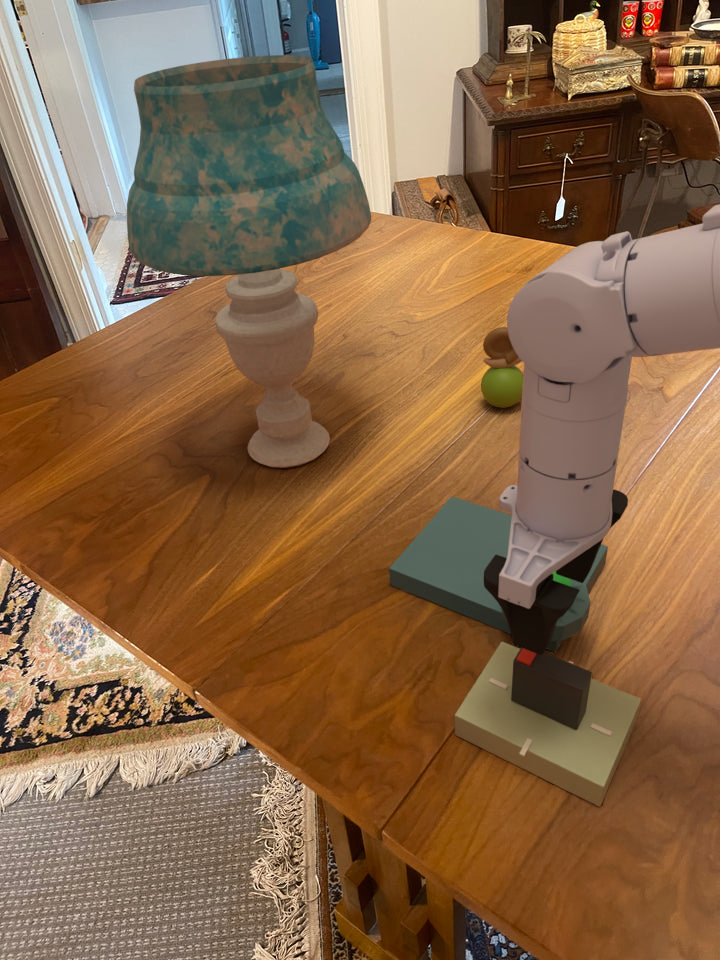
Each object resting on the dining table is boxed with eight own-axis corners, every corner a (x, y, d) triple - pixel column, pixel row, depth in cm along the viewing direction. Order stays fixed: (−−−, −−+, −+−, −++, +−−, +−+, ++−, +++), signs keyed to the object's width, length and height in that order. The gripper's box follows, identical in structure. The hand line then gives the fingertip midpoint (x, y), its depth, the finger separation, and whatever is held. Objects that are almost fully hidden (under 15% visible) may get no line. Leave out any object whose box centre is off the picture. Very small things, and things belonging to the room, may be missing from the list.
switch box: (621, 569, 67) (627, 536, 65) (566, 672, 58) (570, 638, 56) (451, 512, 76) (451, 481, 73) (381, 595, 67) (378, 563, 65)
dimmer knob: (586, 712, 52) (592, 669, 50) (576, 730, 51) (583, 688, 49) (520, 683, 55) (523, 640, 52) (510, 700, 54) (513, 658, 51)
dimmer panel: (639, 713, 55) (644, 691, 53) (596, 815, 49) (601, 793, 47) (503, 656, 60) (504, 634, 59) (450, 741, 54) (450, 719, 53)
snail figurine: (536, 414, 89) (542, 322, 82) (483, 417, 90) (484, 326, 82) (529, 391, 94) (534, 303, 86) (478, 394, 94) (479, 306, 87)
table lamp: (227, 537, 76) (117, 110, 52) (167, 432, 93) (65, 78, 69) (425, 462, 83) (409, 59, 59) (336, 378, 101) (296, 42, 77)
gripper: (550, 383, 50) (537, 532, 59) (451, 499, 41) (453, 658, 49) (655, 406, 47) (627, 561, 55) (573, 539, 38) (554, 702, 46)
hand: (551, 609), depth 52 cm, fingers open, 7 cm apart
